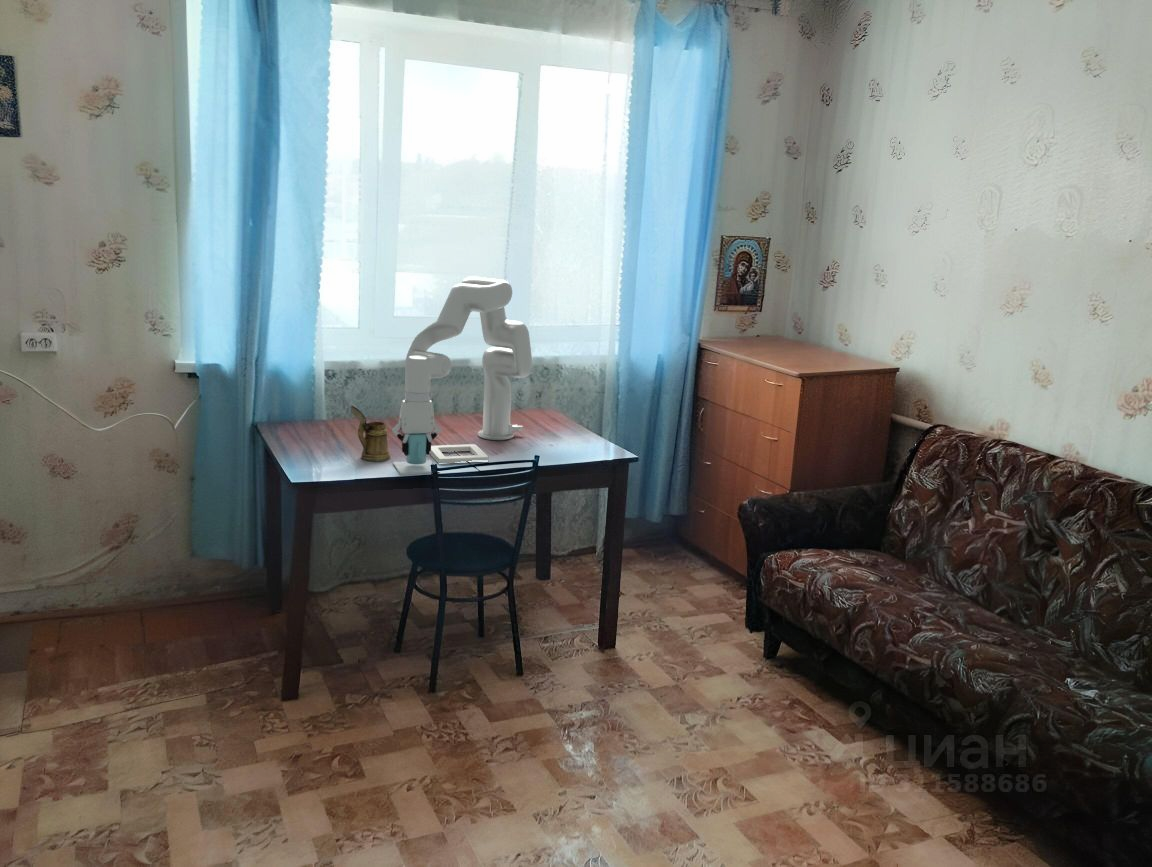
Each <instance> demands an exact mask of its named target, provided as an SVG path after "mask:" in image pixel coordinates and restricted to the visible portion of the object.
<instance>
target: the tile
mask: <svg viewBox="0 0 1152 867" xmlns="http://www.w3.org/2000/svg"><path fill="white" fill-rule="evenodd" d="M432 463H433V464H434V462H433V461H432V460H431V459H429V460H426V463H424V464H409V463H407V462H406V461H393V462H392V465H393V466H394V467H395V469H396V470H397V472H398V474H399V475H400V476H403V475H404V476H407V475H425V474H426V475H427V474H432V473H431V468H430V465H431V464H432Z"/></svg>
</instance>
